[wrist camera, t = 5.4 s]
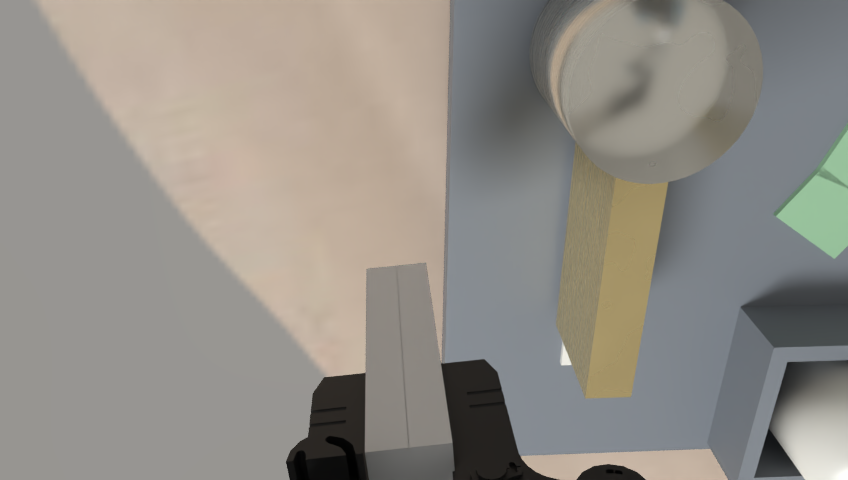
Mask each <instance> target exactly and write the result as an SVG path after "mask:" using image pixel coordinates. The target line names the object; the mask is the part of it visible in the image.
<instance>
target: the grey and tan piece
mask: <svg viewBox="0 0 848 480" xmlns="http://www.w3.org/2000/svg"><path fill="white" fill-rule="evenodd" d="M529 59H530V67H531V72H532V76H533V79H534V82H535V84H536V86H537V88H538V90H539V92H540V93H541V95H542V97H543V98H544V99H545V101H546V102H547V103H548V105H549V106H550V107H551V109H552V110H553V111H554V113H555V114H556V116H557V117H558V118H559V120H560V121H561V122H562V124H563V125H564V126H565V128H566V129H567V130H568V132H569V133H570V135H571V136H572V137H573V139H574V140H575V141H576V142H575V152H574V161H573V170H572V179H571V189H570V198H569V207H568V216H567V226H566V235H565V244H564V253H563V263H562V272H561V281H560V290H559V300H558V309H557V318H556V326H557V329H558V331H559V334H560V336H561V339H562V341H563V344H564V346H565V349H566V351H567V354H568V356H569V359H570V361H571V364H572V366H573V369H574V371H575V374H576V376H577V379H578V381H579V384H580V386H581V389H582V391H583V394H584V397H585V399H587V398H618V397H631V395H632V389H633V383H634V377H635V372H636V366H637V360H638V354H639V348H640V343H641V337H642V331H643V325H644V320H645V314H646V308H647V302H648V296H649V291H650V285H651V279H652V273H653V268H654V262H655V256H656V250H657V245H658V239H659V233H660V227H661V221H662V216H663V210H664V204H665V198H666V193H667V187H668V182H670V181H675V180H678V179H681V178H685V177H687V176H690V175H692V174H694V173H696V172H699V171H700V170H702V169H704V168H705V167H707V166H709V165H710V164H712V163H713V162H714V161H716V160H717V159H718V158H720V157H721V156H722V155H723V154H724V153H725V152H726V151H727V150H729V149H730V148H731V146H732V145H733V144H734V143H735V142H736V141H737V140H738V138H739V137H740V136H741V134H742V133H743V131H744V130H745V129H746V127H747V125H748V123H749V122H750V120H751V118H752V116H753V114H754V111H755V109H756V106H757V104H758V100H759V97H760V93H761V88H762V82H763V61H762V54H761V50H760V46H759V42H758V40H757V38H756V35H755V33H754V31H753V30H752V28H751V26H750V25H749V23H748V22H747V20H746V19H745V18H744V17H743V16H742V15H741V14H740V12H738V11H737V10H736V9H735V8H733V7H732V6H731V5H730V4H728V3H726V2H724V1H723V0H548V2H547V3H546V5H545V6H544V7H543V9H542V11H541V13H540V15H539V16H538V18H537V21H536V23H535V26H534V29H533V32H532V36H531V42H530V56H529Z"/></svg>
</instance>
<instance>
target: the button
mask: <svg viewBox="0 0 848 480" xmlns="http://www.w3.org/2000/svg"><path fill="white" fill-rule="evenodd" d="M769 429H770V431H771V432H772V434H773V435H774V436H775V438H776V439H777V441H778V442H779V443H780V445H781V446H782V448H783V449H784V451H785V452H786V453H787V455H788V456H789V458H790V459H791V460H792V462H793V463H794V465H795V466H796V468H797V469H798V470H799V472H800V473H801V475H802V476H803V478H804V479H805V480H848V360H836V361H803V362H787V365H786V369H785V372H784V376H783V379H782V383H781V386H780V390H779V393H778V396H777V400H776V403H775V407H774V410H773V414H772V417H771V421H770V424H769Z"/></svg>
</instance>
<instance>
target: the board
mask: <svg viewBox="0 0 848 480" xmlns="http://www.w3.org/2000/svg"><path fill="white" fill-rule="evenodd" d="M723 1H724V2H726V3H728V4H730V5H731V6H732V7H733V8H735V9H736V10H737V11H738V12H740V14H741V15H742V16H743V17H744V18H745V19H746V20H747V22H748V23H749V25H750V26H751V28H752V30H753V31H754V33H755V35H756V38H757V40H758V42H759V46H760V50H761V54H762V61H763V82H762V88H761V93H760V97H759V100H758V104H757V106H756V109H755V111H754V114H753V116H752V118H751V120H750V122H749V123H748V125H747V127H746V129H745V130H744V131H743V133H742V134H741V136H740V137H739V138H738V140H737V141H736V142H735V143H734V144H733V145H732V146H731V148H730V149H729V150H727V151H726V152H725V153H724V154H723V155H722V156H721V157H720V158H718V159H717V160H716V161H714V162H713V163H712V164H710V165H709V166H707V167H705V168H704V169H702V170H700V171H699V172H696V173H694V174H692V175H690V176H687V177H685V178H681V179H678V180H675V181H670V182H668V187H667V193H666V198H665V204H664V210H663V216H662V221H661V227H660V233H659V239H658V245H657V250H656V256H655V262H654V268H653V273H652V279H651V285H650V291H649V296H648V302H647V308H646V314H645V320H644V325H643V331H642V337H641V343H640V348H639V354H638V360H637V366H636V372H635V377H634V383H633V389H632V395H631V397H618V398H587V399H585V397H584V394H583V391H582V389H581V386H580V384H579V381H578V379H577V376H576V374H575V371H574V369H573V366H572V364H571V361H570V359H569V356H568V354H567V351H566V349H565V346H564V344H563V341H562V339H561V336H560V334H559V331H558V329H557V326H556V318H557V309H558V300H559V290H560V281H561V272H562V263H563V253H564V244H565V235H566V226H567V216H568V207H569V198H570V189H571V179H572V170H573V161H574V152H575V142H576V141H575V140H574V139H573V137H572V136H571V135H570V133H569V132H568V130H567V129H566V128H565V126H564V125H563V124H562V122H561V121H560V120H559V118H558V117H557V116H556V114H555V113H554V111H553V110H552V109H551V107H550V106H549V105H548V103H547V102H546V101H545V99H544V98H543V97H542V95H541V93H540V92H539V90H538V88H537V86H536V84H535V82H534V79H533V76H532V72H531V67H530V59H529V56H530V42H531V36H532V32H533V29H534V26H535V23H536V21H537V18H538V16H539V15H540V13H541V11H542V9H543V7H544V6H545V5H546V3H547V2H548V0H450V41H449V83H448V125H447V167H446V209H445V251H444V292H443V334H442V363H451V362H461V361H470V360H480V359H485V360H486V361H487V362H488V363H489V364H490V365H491V366H492V367H493V368H494V369H495V370H496V371H497V372H498V376H499V380H500V384H501V387H502V392H503V395H504V399H505V404H506V407H507V410H508V414H509V418H510V422H511V426H512V430H513V433H514V437H515V441H516V445H517V449H518V452H519V454H520V456H527V455H553V454H580V453H607V452H633V451H660V450H687V449H711V451H712V452H713V454H714V456H715V457H716V459H717V461H718V463H719V464H720V466H721V468H722V470H723V471H724V473H725V475H726V476H727V478H728V480H805V479H804V478H803V476H802V475H801V473H800V472H799V470H798V469H797V468H796V466H795V465H794V463H793V462H792V460H791V459H790V458H789V456H788V455H787V453H786V452H785V451H784V449H783V448H782V446H781V445H780V443H779V442H778V441H777V439H776V438H775V436H774V435H773V434H772V432H771V431H770V429H769V424H770V421H771V417H772V414H773V410H774V407H775V403H776V400H777V396H778V393H779V390H780V386H781V383H782V379H783V376H784V372H785V369H786V365H787V362H803V361H836V360H848V0H723Z"/></svg>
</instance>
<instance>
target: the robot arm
mask: <svg viewBox="0 0 848 480" xmlns="http://www.w3.org/2000/svg"><path fill="white" fill-rule="evenodd" d="M286 464H287V468H288V473H289V478H290V480H558V479H554V478H549V477H546V476H543V475H541V474H539V473H537V472H535V471H534V470H532V469H531V468H529V467H528V466H527V465H526V464H525V463H524V461H523V460H522V459H521V457H520V454H519V452H518V449H517V445H516V441H515V437H514V433H513V430H512V426H511V422H510V418H509V414H508V410H507V407H506V404H505V399H504V395H503V392H502V387H501V384H500V380H499V376H498V372H497V371H496V370H495V369H494V368H493V367H492V366H491V365H490V364H489V363H488V362H487V361H486V360H485V359H480V360H470V361H461V362H451V363H442V364H441V361H440V354H439V348H438V341H437V334H436V327H435V320H434V314H433V307H432V300H431V293H430V286H429V280H428V273H427V266H426V263H418V264H409V265H399V266H389V267H379V268H369V269H367V273H366V373H362V374H353V375H343V376H334V377H324V378H323V380H322V381H321V383H320V384H319V386H318V387H317V389H316V390H315V391H314V393H313V398H312V407H311V415H310V428H309V433H308V438H306V439H304V440H302V441H300V442H299V443H298V444H297V445H296V446H295V447H294V448H293V449H292V450H291V451H290V453H289V456H288V458H287V461H286ZM577 480H645V479H644V478H643V477H642V476H641V475H640V474H638V473H637V472H635V471H633V470H631V469H628V468H626V467H624V466H617V465H610V464H606V465H599V466H594V467H592V468H590V469H588V470H586V471H584V472H582V473H581V475H580V476H579V477H578V479H577Z"/></svg>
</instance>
